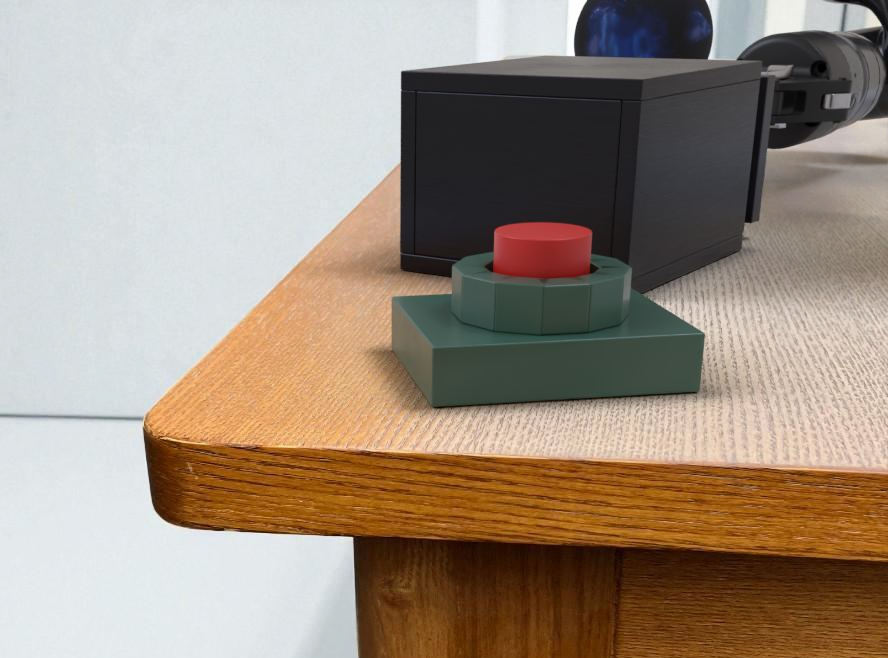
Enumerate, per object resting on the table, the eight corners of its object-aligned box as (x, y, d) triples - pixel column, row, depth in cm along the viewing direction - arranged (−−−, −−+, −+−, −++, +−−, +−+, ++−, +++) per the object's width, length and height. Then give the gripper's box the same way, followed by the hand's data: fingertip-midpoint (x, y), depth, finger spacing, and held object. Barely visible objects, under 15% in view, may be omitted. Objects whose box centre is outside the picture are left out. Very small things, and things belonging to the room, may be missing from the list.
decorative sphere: (561, 114, 141) (569, -35, 135) (579, 102, 154) (587, -34, 148) (702, 117, 137) (717, -37, 131) (708, 104, 150) (722, -36, 144)
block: (624, 337, 54) (631, 241, 52) (700, 392, 47) (711, 282, 45) (391, 349, 53) (391, 251, 51) (431, 407, 45) (433, 295, 44)
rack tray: (608, 194, 83) (616, 65, 80) (785, 210, 77) (802, 70, 74) (462, 237, 70) (466, 84, 67) (661, 260, 64) (676, 92, 61)
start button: (572, 265, 50) (574, 220, 49) (602, 285, 47) (605, 237, 46) (482, 270, 50) (484, 224, 49) (506, 290, 46) (508, 241, 46)
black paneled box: (537, 227, 78) (544, 55, 74) (741, 249, 71) (762, 60, 67) (399, 270, 67) (400, 70, 63) (625, 301, 60) (642, 79, 56)
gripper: (714, 29, 93) (606, 39, 80) (904, 32, 85) (819, 42, 73) (703, 137, 96) (598, 163, 83) (886, 149, 88) (802, 178, 76)
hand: (702, 107), depth 78 cm, fingers closed
